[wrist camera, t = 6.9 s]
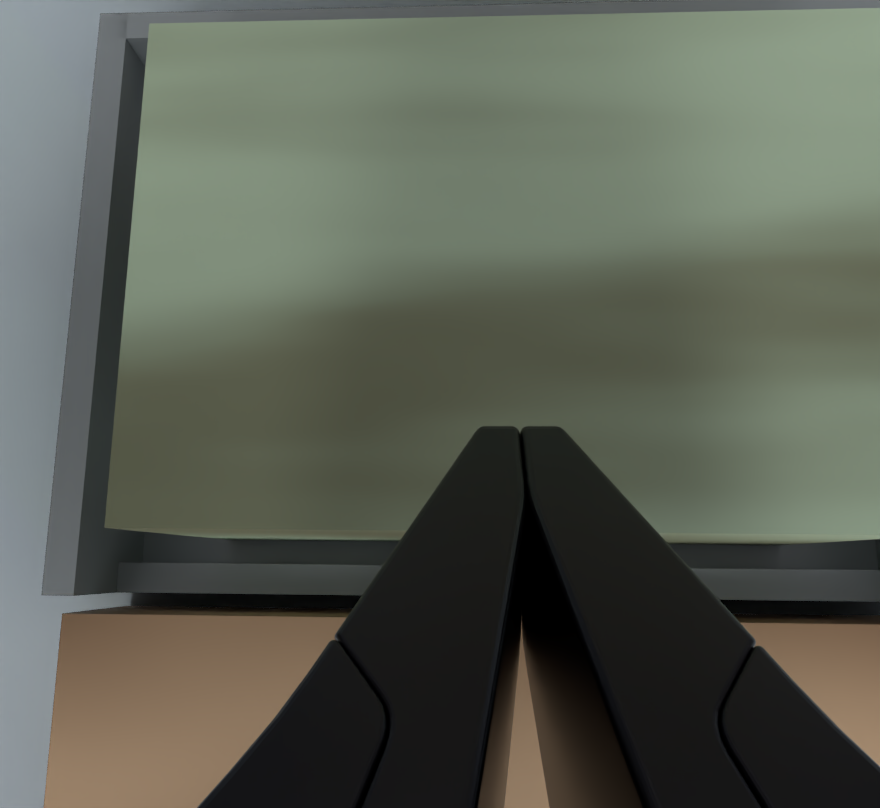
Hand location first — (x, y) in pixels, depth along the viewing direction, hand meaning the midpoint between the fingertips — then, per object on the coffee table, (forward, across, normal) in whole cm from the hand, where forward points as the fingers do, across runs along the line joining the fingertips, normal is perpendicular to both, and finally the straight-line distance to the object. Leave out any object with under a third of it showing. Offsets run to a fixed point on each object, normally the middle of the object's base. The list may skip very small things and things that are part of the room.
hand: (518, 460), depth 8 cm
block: (+2, 0, +3) cm, 4 cm away
